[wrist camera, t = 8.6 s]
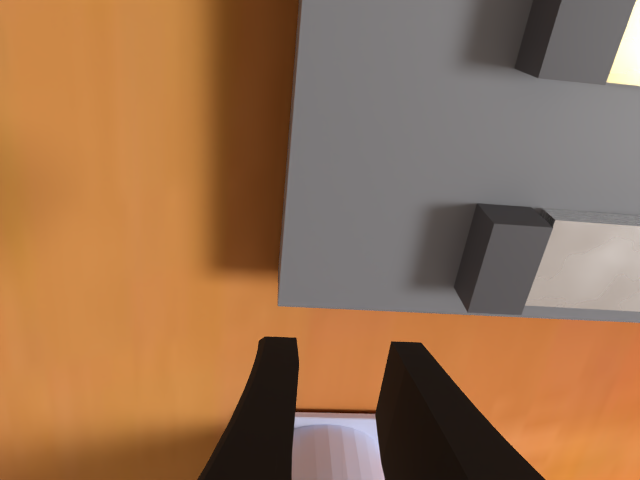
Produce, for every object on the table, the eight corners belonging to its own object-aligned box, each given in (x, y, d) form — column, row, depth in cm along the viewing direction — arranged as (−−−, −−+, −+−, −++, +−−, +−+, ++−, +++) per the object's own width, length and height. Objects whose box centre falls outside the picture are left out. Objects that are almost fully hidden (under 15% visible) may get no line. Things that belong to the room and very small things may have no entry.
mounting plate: (783, 298, 24) (879, 360, 20) (278, 271, 21) (277, 336, 17) (1005, -38, 17) (1211, -41, 13) (310, -139, 14) (320, -179, 11)
